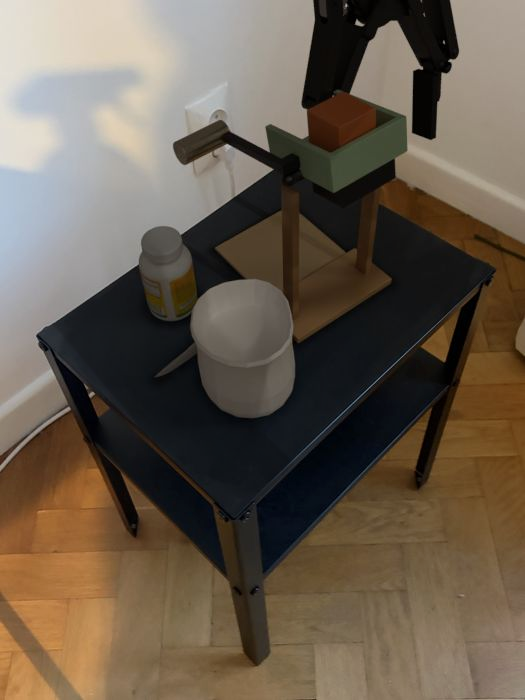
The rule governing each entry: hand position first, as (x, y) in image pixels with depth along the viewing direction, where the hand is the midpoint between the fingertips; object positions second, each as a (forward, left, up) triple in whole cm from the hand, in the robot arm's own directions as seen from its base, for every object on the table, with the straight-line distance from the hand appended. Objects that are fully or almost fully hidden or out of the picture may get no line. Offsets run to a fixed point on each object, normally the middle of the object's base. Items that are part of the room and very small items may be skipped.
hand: (383, 154), depth 73 cm
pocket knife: (-1, +23, -12) cm, 26 cm away
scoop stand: (-3, +10, -12) cm, 16 cm away
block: (-4, +10, +8) cm, 13 cm away
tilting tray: (-1, +12, +4) cm, 13 cm away
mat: (+5, +10, -12) cm, 16 cm away
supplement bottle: (+6, +23, -12) cm, 27 cm away
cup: (-7, +23, -12) cm, 27 cm away
